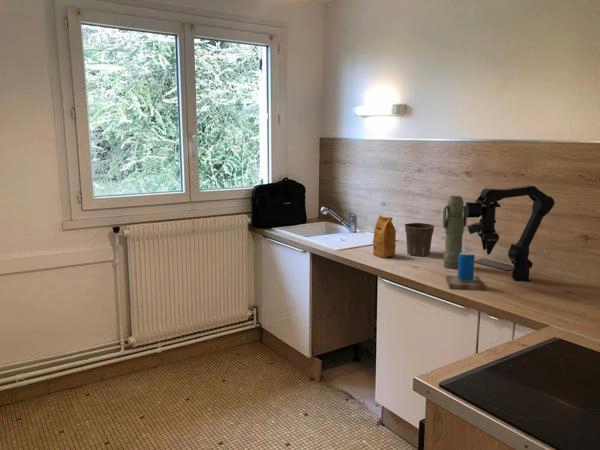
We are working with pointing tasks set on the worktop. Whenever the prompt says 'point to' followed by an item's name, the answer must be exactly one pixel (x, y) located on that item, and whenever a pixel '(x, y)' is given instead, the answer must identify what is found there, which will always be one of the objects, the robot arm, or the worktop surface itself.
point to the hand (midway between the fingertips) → (486, 252)
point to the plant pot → (419, 238)
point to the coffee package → (384, 238)
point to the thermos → (453, 230)
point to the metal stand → (464, 283)
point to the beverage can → (465, 266)
